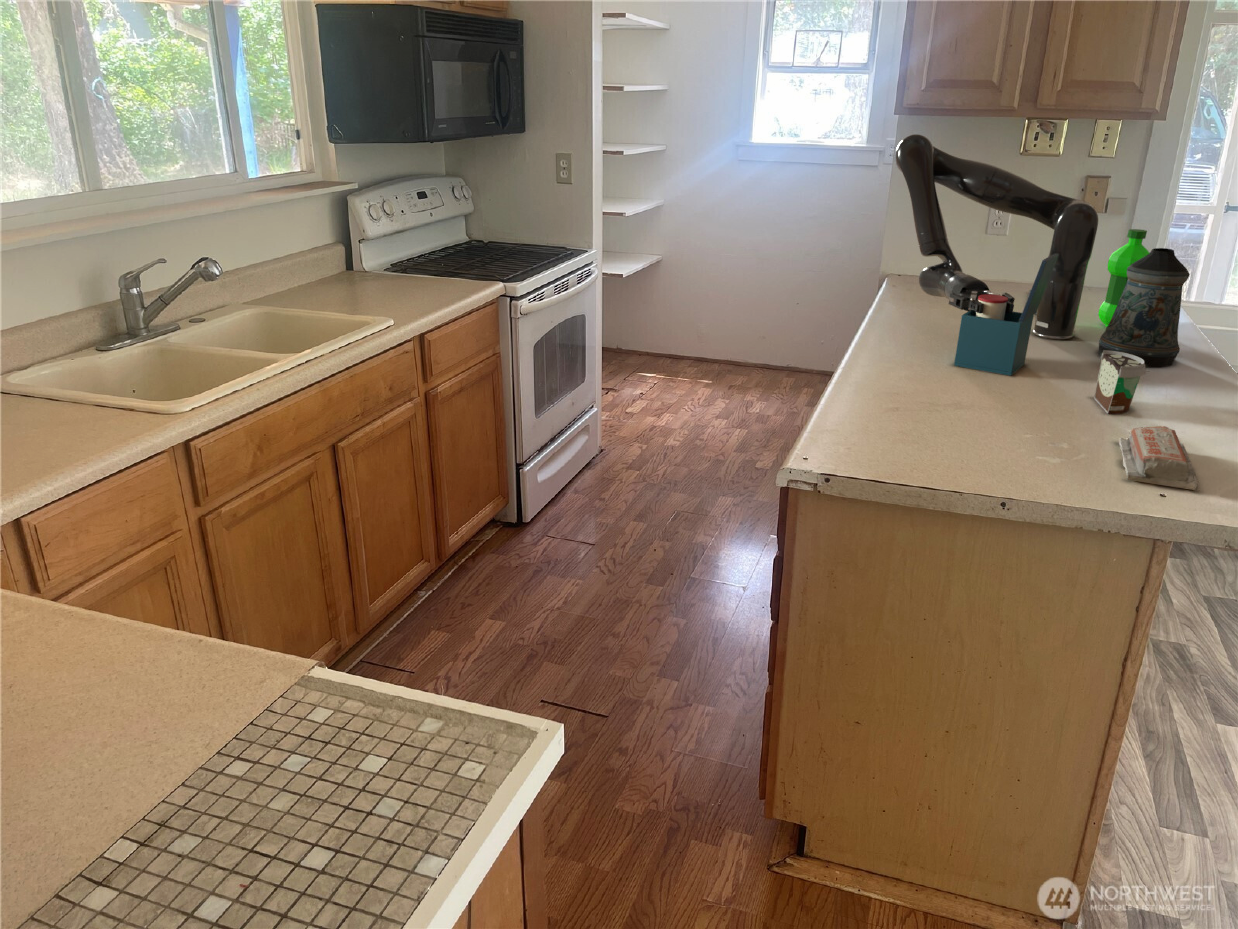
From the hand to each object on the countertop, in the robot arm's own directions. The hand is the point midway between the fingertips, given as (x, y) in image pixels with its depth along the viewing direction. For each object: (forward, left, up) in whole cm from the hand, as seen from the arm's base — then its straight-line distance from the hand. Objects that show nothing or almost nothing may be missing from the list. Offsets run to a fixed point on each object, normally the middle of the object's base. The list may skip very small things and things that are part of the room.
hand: (996, 308), depth 193 cm
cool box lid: (-2, +7, +6) cm, 9 cm away
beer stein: (-30, +25, -14) cm, 42 cm away
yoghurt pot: (-2, -2, -8) cm, 8 cm away
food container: (+12, +29, -14) cm, 34 cm away
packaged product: (+40, +40, -14) cm, 58 cm away
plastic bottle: (-58, +16, -14) cm, 62 cm away
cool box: (-2, 0, -13) cm, 14 cm away
